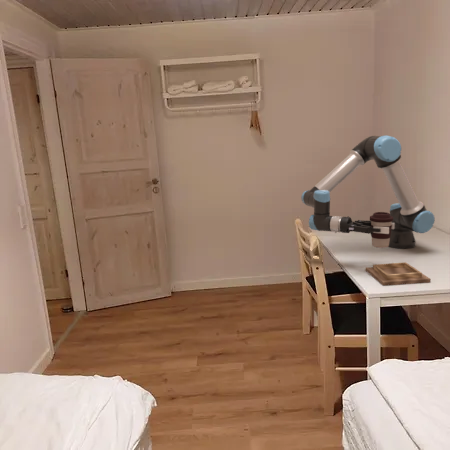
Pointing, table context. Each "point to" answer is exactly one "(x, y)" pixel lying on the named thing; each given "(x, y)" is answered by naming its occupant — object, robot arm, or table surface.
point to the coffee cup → (381, 221)
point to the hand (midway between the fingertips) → (391, 228)
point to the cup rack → (396, 274)
